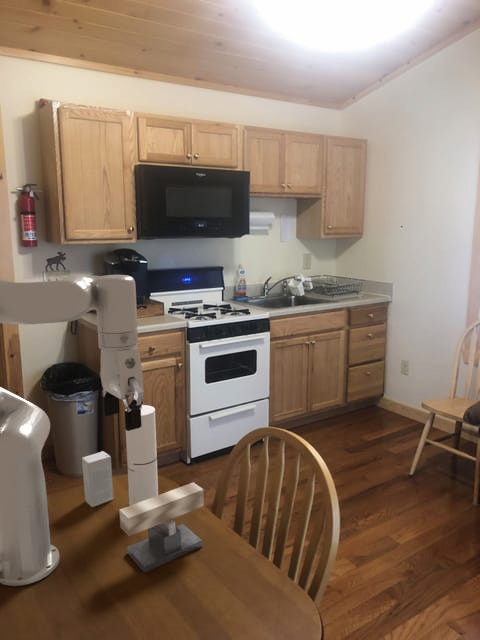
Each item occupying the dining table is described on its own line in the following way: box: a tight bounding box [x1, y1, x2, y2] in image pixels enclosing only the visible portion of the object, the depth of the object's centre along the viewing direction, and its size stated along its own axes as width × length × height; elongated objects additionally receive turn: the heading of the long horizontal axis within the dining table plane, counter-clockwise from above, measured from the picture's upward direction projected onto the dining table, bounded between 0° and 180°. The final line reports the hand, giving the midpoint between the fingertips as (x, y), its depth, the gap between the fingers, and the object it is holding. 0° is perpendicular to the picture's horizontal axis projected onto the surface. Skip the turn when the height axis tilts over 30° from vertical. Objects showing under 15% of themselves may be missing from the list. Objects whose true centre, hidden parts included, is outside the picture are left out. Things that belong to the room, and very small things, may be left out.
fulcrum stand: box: [126, 519, 203, 574], centre depth 112 cm, size 14×8×8 cm, turn 128°
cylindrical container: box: [124, 404, 159, 506], centre depth 128 cm, size 7×7×25 cm
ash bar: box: [119, 481, 205, 537], centre depth 111 cm, size 18×4×4 cm, turn 128°
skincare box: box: [81, 450, 114, 508], centre depth 131 cm, size 6×4×12 cm
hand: (122, 421), depth 105 cm, fingers open, 9 cm apart
